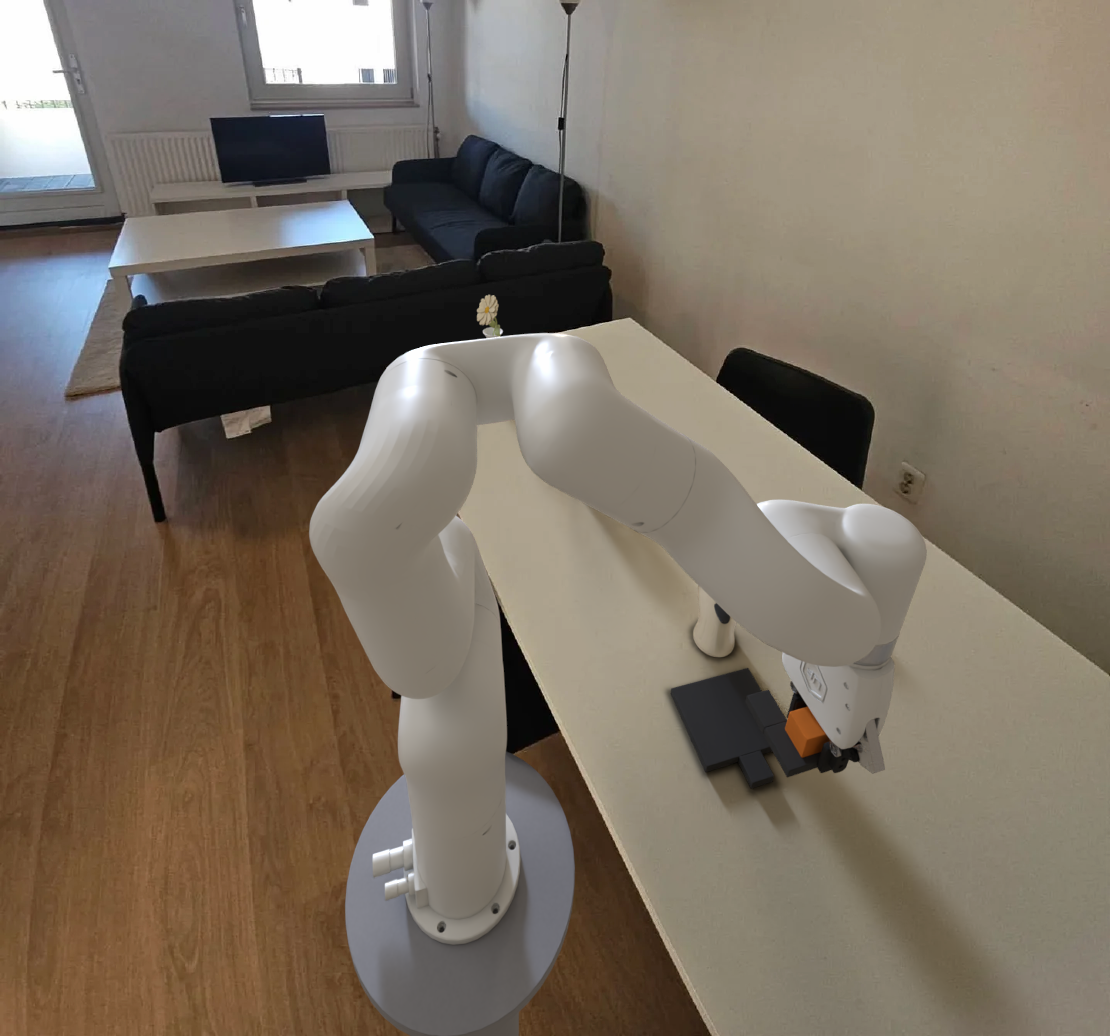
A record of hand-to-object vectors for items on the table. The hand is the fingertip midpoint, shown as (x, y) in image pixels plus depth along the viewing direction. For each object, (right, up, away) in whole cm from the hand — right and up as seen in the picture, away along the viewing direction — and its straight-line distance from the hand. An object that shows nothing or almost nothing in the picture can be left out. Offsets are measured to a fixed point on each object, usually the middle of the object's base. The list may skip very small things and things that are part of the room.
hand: (815, 740), depth 66 cm
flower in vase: (-44, +26, +92) cm, 106 cm away
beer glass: (-4, -4, +26) cm, 26 cm away
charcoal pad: (-5, -9, +13) cm, 17 cm away
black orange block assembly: (0, 0, +2) cm, 2 cm away
